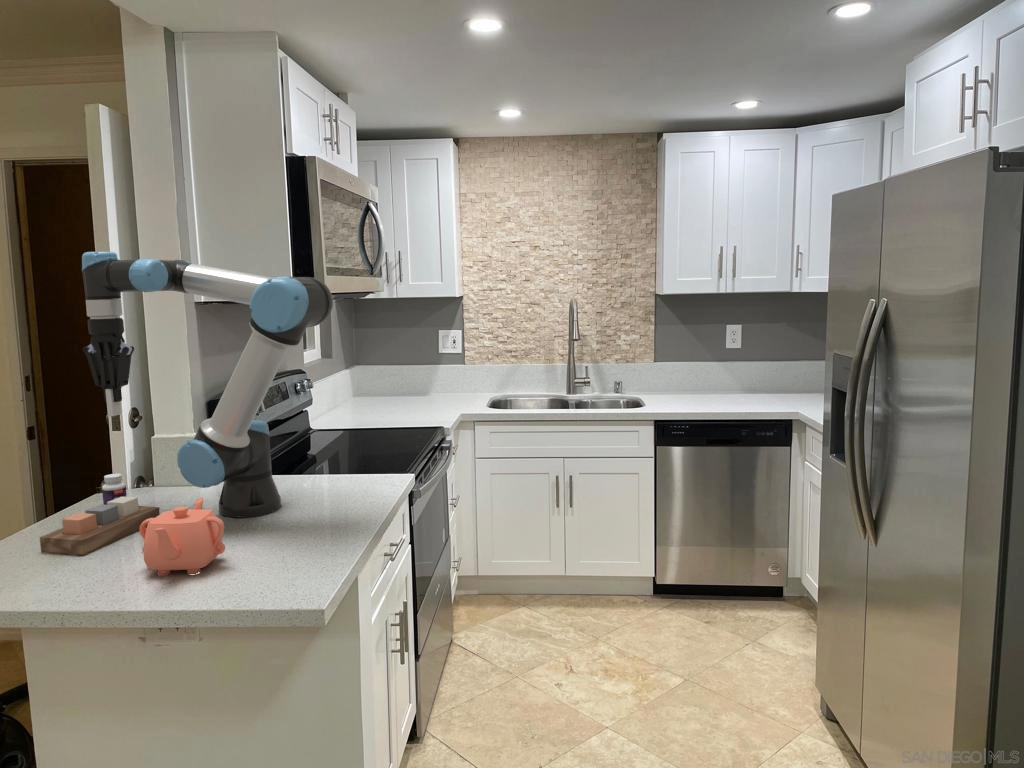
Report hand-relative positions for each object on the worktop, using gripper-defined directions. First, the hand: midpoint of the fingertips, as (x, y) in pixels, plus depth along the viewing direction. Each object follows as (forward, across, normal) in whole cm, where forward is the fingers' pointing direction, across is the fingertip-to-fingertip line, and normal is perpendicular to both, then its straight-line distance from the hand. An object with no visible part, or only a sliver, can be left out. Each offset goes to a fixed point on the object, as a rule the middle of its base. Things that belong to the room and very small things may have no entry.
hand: (114, 414), depth 183 cm
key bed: (+26, -4, +11) cm, 29 cm away
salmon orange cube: (+25, -4, +18) cm, 31 cm away
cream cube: (+25, -4, +4) cm, 25 cm away
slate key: (+25, -4, +11) cm, 27 cm away
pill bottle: (+27, +7, -5) cm, 28 cm away
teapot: (+27, -36, +24) cm, 51 cm away
